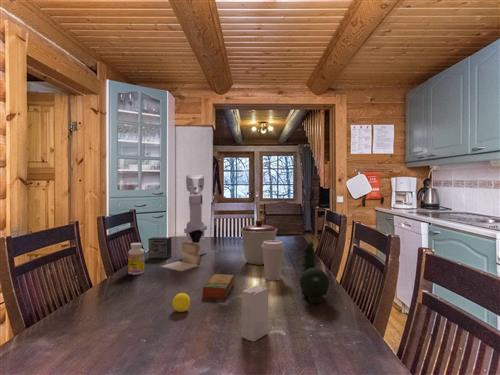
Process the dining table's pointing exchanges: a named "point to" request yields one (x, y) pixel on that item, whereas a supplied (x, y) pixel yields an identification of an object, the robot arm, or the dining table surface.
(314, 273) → the green topiary plant
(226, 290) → the carton
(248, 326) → the skincare box
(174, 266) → the beige mat
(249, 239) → the canister
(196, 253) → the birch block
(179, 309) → the lemon
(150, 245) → the small box
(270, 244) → the coffee cup
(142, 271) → the supplement bottle
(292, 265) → the dining table surface
